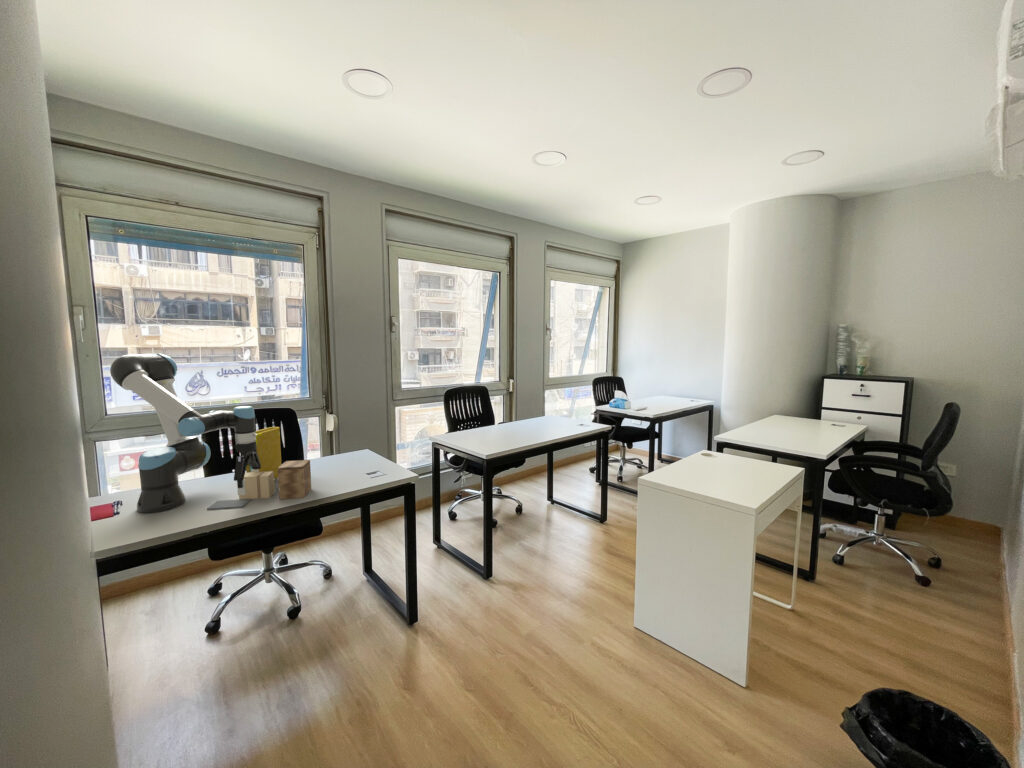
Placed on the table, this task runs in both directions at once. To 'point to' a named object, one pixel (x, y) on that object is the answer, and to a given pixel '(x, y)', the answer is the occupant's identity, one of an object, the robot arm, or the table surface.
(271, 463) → the book
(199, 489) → the table surface
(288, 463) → the wooden box
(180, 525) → the table surface
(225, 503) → the pad
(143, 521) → the table surface
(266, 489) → the blank
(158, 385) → the robot arm
